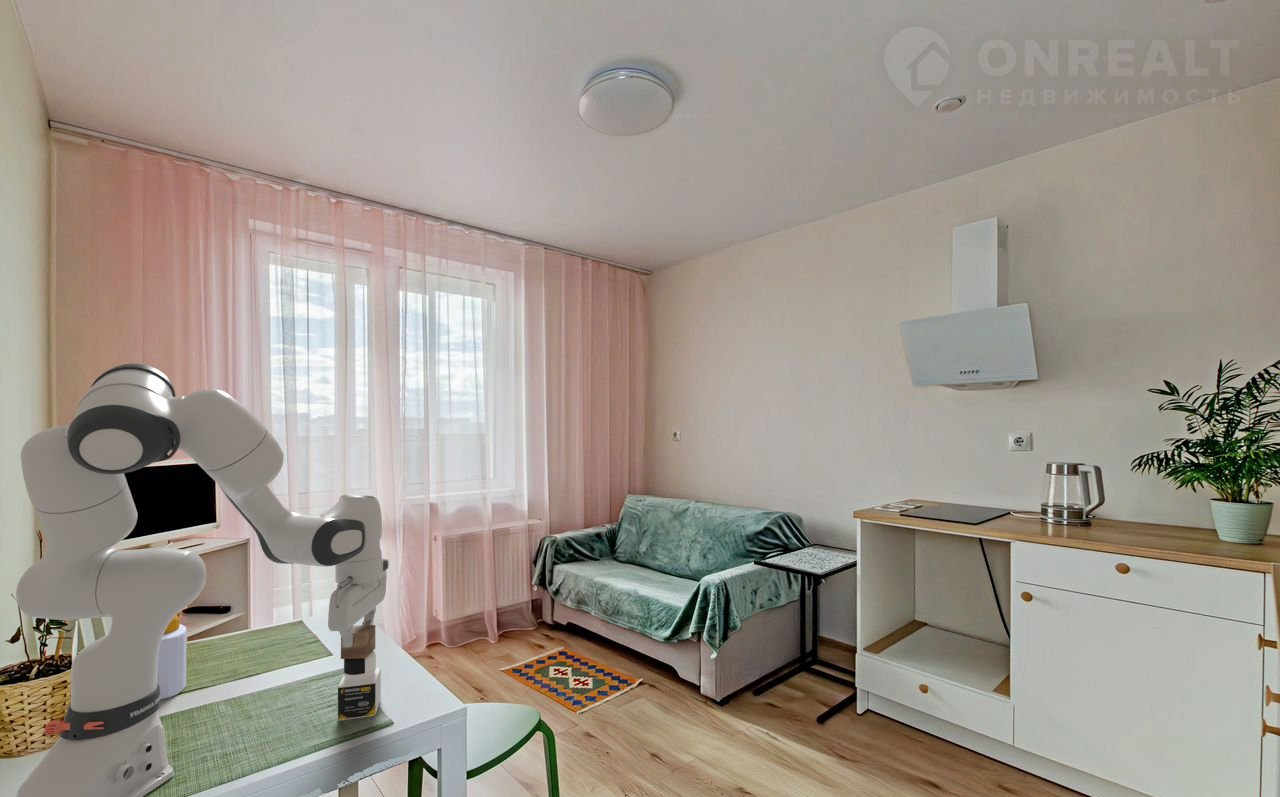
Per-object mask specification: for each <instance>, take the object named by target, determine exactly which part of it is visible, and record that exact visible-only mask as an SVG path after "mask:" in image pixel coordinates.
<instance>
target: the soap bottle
mask: <svg viewBox="0 0 1280 797" xmlns="http://www.w3.org/2000/svg"><path fill="white" fill-rule="evenodd" d="M187 633H188V632H187V627H186V626H185V625H183V623H182V624H181V623H180V618H179V616H178V614H177V615H176V616H175V617H174V618H173V619H172V620H171V622H170V623H169V625H168V626H167V628H166V630H165V632H164V634H163V636H162V639H161V642H160V647H159V656H158V668H157V684H159V686H160V693H161V698H160V701H161V700H165V699H170V698H172V697H174V696H177V695H178V694H179V693H182V692H183V691H184V689H185V688H186V686H187V654H188V653H187V648H188V647H187V644H188V643H187V641H188V640H187V638H188V637H187V636H188V634H187Z"/></svg>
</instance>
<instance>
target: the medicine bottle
mask: <svg viewBox="0 0 1280 797" xmlns="http://www.w3.org/2000/svg"><path fill="white" fill-rule="evenodd" d="M376 663H377V654H376V652H375V651H374V650H373V651H372V652H371V653H370V654H369V655H368V656H367V657H366V658H358V659H343V676H342V678H341V680H340V682H339V684H338V686H337V721H338V722H341V721H348V720H355V719H363V718H370V717H375V716H376V715H377V711H378V709H379V705H380V702H381V701H382V699H381V698H382V688H381V687H382V681H381V680H382V675H381V674H382V670H381V669H382V668H381V667H376V666H377V664H376Z"/></svg>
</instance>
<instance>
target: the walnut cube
mask: <svg viewBox="0 0 1280 797" xmlns="http://www.w3.org/2000/svg"><path fill="white" fill-rule="evenodd" d="M352 634H353V636H355V640H354V641H355V643H354V644H353V645H352V646H351V647H343V639H342V637H341V636H340V660H344V659H358V658H366V657H367V656H368V655H369V654H370V653H371V652H372V651H374V650H376V624H373V625H359V624H358V625H353V630H352Z"/></svg>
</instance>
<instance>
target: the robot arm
mask: <svg viewBox="0 0 1280 797" xmlns="http://www.w3.org/2000/svg"><path fill="white" fill-rule="evenodd" d="M178 450H180V451H181V452H184V453H185V454H187V455H188V456H189V457H190V458H192V460H193V461H194V462H195V463H196V464H197V465H198V466H199V467H200V468H201V469H202V470H203V471H204V472H205V473H206V474H207V475H208V476H209V477H210V478H211V479H212V480H213V481H214V482H215V483H216V484H217V485H218V486H219V488H220V489H221V491H222V492H223V494H224V495H225V497H226V498H227V500H228V501H229V502H230V503H231V504H232V505H233V507H234V509H236V510H237V512H238V513H240V516H242V518H243V519H244V520H245V521H246V522H247V523H248V524H249V525H250V526H251V528H252V530H254V532H255V534H256V536H257V538H258V542H259V545H260V547H261V550H262V552H263V554H264V555H265V556H266V558H267V559H268V560H269V561H272V562H273V563H276V564H283V565H284V564H285V565H286V564H287V565H288V564H290V565H291V564H293V565H294V564H296V565H303V566H313V567H314V566H316V567H333V566H334V567H335V568H334V571H335V572H334V573H335V574H334V575H335V577H334V578H335V579H334V580H335V583H336V584H337V585H336V589H335V590H333V592H332V593H331V595H330V598H329V604H328V605H329V606H328V617H327V618H328V619H327V627H328V630H329V631H330V632H338V633H339V634H340V638H341V637H342V639H343V647H351V646H352V645H353V644H354V643H355V641H354V640H355V636H353V634H352V630H353V626H355V625H356V623H357V622H359V621H360V620H362V619H363V621H362V625H374V619H375V617H376V616H375V614H376V612H377V606H378V605H379V604H381V603H382V602H383V601H384V599H385V598H386V593H387V579H388V577H387V576H388V573H387V570H388V569H389V566H390V565H389V564H390V560H389V559H387V558H383V557H382V556H383V552H382V549H381V538H382V536H383V524H382V522H383V521H382V510H381V505H380V502H379V500H378V498H376V497H375V496H373V495H363V494H343V495H341V496H340V497H339V499H338V501H337V502H336V503H335V504H334V505H333V506H331V508H330V509H328V510H326V511H325V512H323V513H321V514H320V515H312V514H304V513H298V512H295V511H291V510H289V509H287V508H286V507H285V506H284V505H283V504H282V502H281V501H280V499H278V497H277V496H276V495H275V493H274V492H273V491H272V489H270V486H269V485H270V484H271V483H272V482H273V481H274V480H275V478H276V477H277V476H278V475H279V473H280V472H281V469H282V467H283V464H284V454H285V453H284V451H283V450H282V448H281V446H280V444H279V442H278V441H277V440H276V438H275V437H274V436H273V434H271V433H270V431H269V430H268V429H267V428H266V427H265V425H263V423H262V422H261V421H260V420H259V419H258V418H257V417H256V416H255V415H254V414H253V413H252V412H251V411H250V410H248V409H247V408H246V407H245V406H244V405H243V404H242V403H240V402H239V401H238V400H236V399H235V398H234V397H233V396H231V395H230V394H229V393H227V392H225V391H223V390H220V389H218V388H217V389H216V388H205V389H200V390H196V391H194V392H191V393H189V394H187V395H185V396H184V395H183V396H176V391H175V387H174V385H173V383H172V381H171V380H170V379H169V377H168V376H167V375H166V374H165V373H163V372H162V371H160V370H159V369H158V368H156V367H153V366H151V365H147V364H141V363H125V364H121V365H117V366H114V367H112V368H110V369H108V370H106V371H105V372H103V373H101V375H99V376H98V377H97V378H96V379H95V380H94V381H93V383H92V385H90V388H89V389H88V391H87V392H86V393H85V395H84V396H83V397H82V399H81V400H80V402H79V404H78V408H77V410H76V413H75V415H74V417H73V420H72V422H71V423H69V424H64V425H59V426H58V425H57V426H53V427H50V428H47V429H44V430H42V431H40V432H37V433H35V434H34V435H33V436H31V437H30V438H28V439H27V440H26V442H25V443H24V444H23V446H22V448H21V452H20V461H21V469H22V475H23V479H24V483H25V488H26V491H27V495H28V497H29V500H30V503H31V505H32V506H33V509H34V512H35V514H36V516H37V518H38V521H39V524H40V527H41V530H42V532H43V536H44V538H45V544H46V548H45V552H44V555H43V556H42V557H41V558H40V559H39V560H37V561H36V562H34V563H33V564H32V565H30V567H28V568H27V569H26V570H25V572H24V573H23V574H22V576H21V577H20V579H19V580H18V582H17V587H16V592H15V598H16V602H17V605H18V607H19V609H20V610H21V611H22V612H23V614H25V615H26V616H27V617H31V618H36V619H46V620H55V621H56V620H57V621H58V620H59V621H70V620H71V621H72V620H84V619H97V618H98V619H99V618H111V626H110V631H109V632H108V634H106V635H103V636H102V637H100V638H98V639H96V640H95V641H93V642H91V643H89V644H88V645H86V646H84V647H83V649H81V650H80V651H79V653H78V654H77V655H76V656H75V658H74V660H73V662H72V664H71V667H70V668H71V669H70V670H71V671H70V673H71V674H70V704H69V706H68V707H67V709H66V712H65V715H64V718H63V720H51V721H49V722H47V724H46V725H45V727H44V730H43V732H44V735H46V736H52V735H59V738H58V739H57V740H56V742H55V743H54V744H52V747H51V748H50V749H49V750H48V752H47V753H46V754H45V755H44V756H43V757H42V759H41V760H40V762H39V763H38V764H37V765H36V766H35V768H34V769H33V770H32V771H31V773H30V774H29V775H28V776H27V777H26V778H25V780H24V781H23V782H22V784H20V787H18V790H17V793H16V795H15V797H144V796H146V795H147V794H148V793H150V792H152V791H153V790H155V789H156V788H158V787H159V786H161V785H162V784H164V783H166V782H167V781H168V780H170V779H171V778H173V776H174V774H175V772H174V768H173V767H172V766H171V765H169V760H168V752H167V751H168V750H167V740H166V735H165V734H166V733H165V728H164V726H163V722H162V721H161V718H160V716H159V711H158V710H159V709H160V708H161V700H160V698H161V693H160V686H159V684H157V668H158V656H159V647H160V642H161V639H162V636H163V634H164V632H165V630H166V628H167V626H168V625H169V623H170V622H171V620H172V619H173V618H174V617H175V616H176V615H177V616H178V614H179V613H180V612H181V611H183V609H185V608H186V607H188V606H189V605H190V604H191V603H193V602H194V601H195V600H196V599H197V598H199V595H200V594H201V593H202V591H203V589H204V586H205V585H206V581H207V568H206V563H205V562H204V560H203V558H202V557H201V556H200V555H199V554H198V552H196V551H193V550H186V549H180V548H171V547H170V548H169V547H158V548H157V547H156V548H141V549H140V548H139V549H137V548H136V549H135V548H134V549H117V548H114V546H115V545H117V544H118V543H120V542H121V541H122V540H124V539H125V538H127V537H128V536H129V535H130V534H131V533H132V531H134V529H135V527H136V525H137V521H138V515H139V514H138V511H137V508H136V504H135V502H134V499H133V496H132V493H131V489H130V487H129V485H128V481H127V478H126V476H125V474H127V473H132V472H134V471H137V470H141V469H143V468H145V467H147V466H150V465H152V464H154V463H159V462H163V461H167V460H169V459H172V457H173V456H174V455H175V454H176V453H177V451H178Z"/></svg>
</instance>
